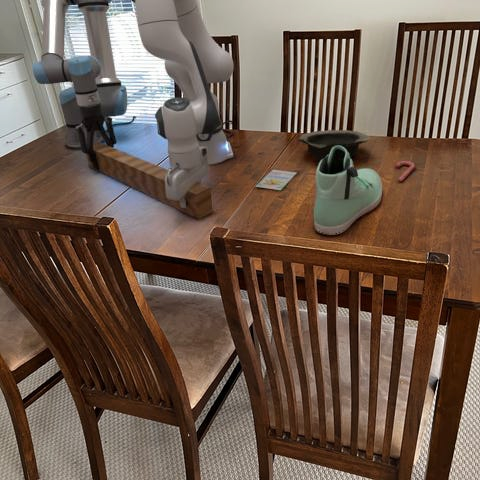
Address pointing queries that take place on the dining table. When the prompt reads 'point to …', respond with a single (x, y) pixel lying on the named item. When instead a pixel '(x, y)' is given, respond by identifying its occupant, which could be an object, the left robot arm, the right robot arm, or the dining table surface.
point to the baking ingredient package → (276, 179)
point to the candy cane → (406, 170)
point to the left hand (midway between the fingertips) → (104, 166)
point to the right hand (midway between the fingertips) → (190, 200)
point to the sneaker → (343, 192)
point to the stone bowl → (333, 142)
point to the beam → (149, 179)
